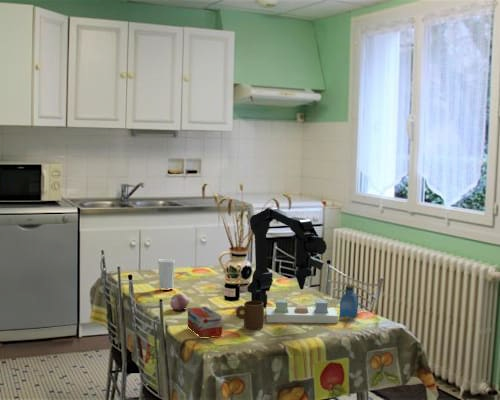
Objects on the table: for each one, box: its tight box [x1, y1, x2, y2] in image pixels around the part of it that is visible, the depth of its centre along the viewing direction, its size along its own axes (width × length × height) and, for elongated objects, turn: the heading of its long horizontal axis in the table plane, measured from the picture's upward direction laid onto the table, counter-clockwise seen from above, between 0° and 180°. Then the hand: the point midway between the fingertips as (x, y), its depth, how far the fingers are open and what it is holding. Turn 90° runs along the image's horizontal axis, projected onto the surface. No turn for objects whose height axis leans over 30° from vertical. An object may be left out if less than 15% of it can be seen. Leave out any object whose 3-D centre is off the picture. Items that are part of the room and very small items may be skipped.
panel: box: [265, 306, 339, 324], centre depth 266 cm, size 28×12×3 cm, turn 90°
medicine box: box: [187, 306, 223, 338], centre depth 245 cm, size 15×8×8 cm, turn 26°
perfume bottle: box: [339, 285, 359, 319], centre depth 271 cm, size 6×6×12 cm
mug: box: [235, 300, 265, 330], centre depth 251 cm, size 12×8×9 cm, turn 127°
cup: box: [157, 258, 176, 289], centre depth 310 cm, size 8×8×14 cm
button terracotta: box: [295, 305, 308, 313], centre depth 266 cm, size 4×4×4 cm
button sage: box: [275, 299, 288, 312], centre depth 265 cm, size 4×4×4 cm
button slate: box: [314, 299, 329, 313], centre depth 265 cm, size 4×4×4 cm
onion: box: [169, 293, 190, 311], centre depth 276 cm, size 8×8×7 cm
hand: (301, 289), depth 265 cm, fingers closed
